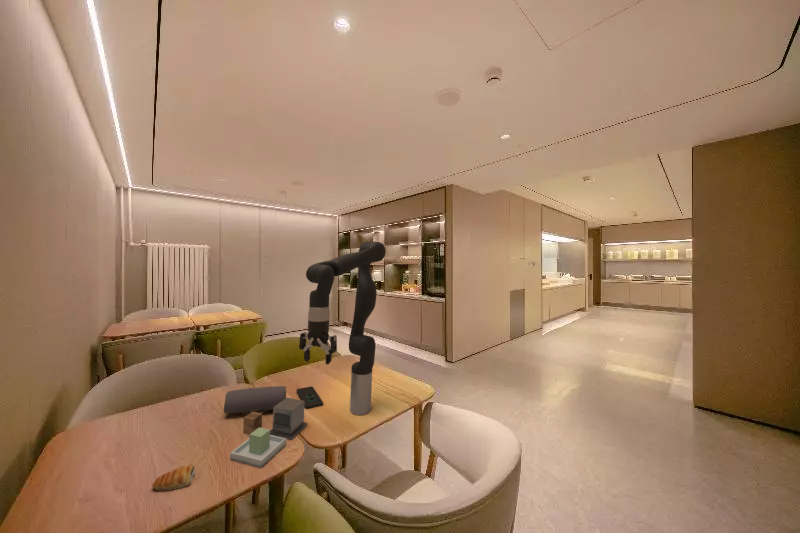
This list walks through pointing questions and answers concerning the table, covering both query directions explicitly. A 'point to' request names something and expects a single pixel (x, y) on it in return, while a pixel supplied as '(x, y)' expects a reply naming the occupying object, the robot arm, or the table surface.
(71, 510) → the table surface
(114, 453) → the table surface
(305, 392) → the smart home device
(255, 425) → the walnut block
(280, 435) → the housing
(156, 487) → the pastry
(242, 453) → the tray
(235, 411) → the bluetooth speaker
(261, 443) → the green block
